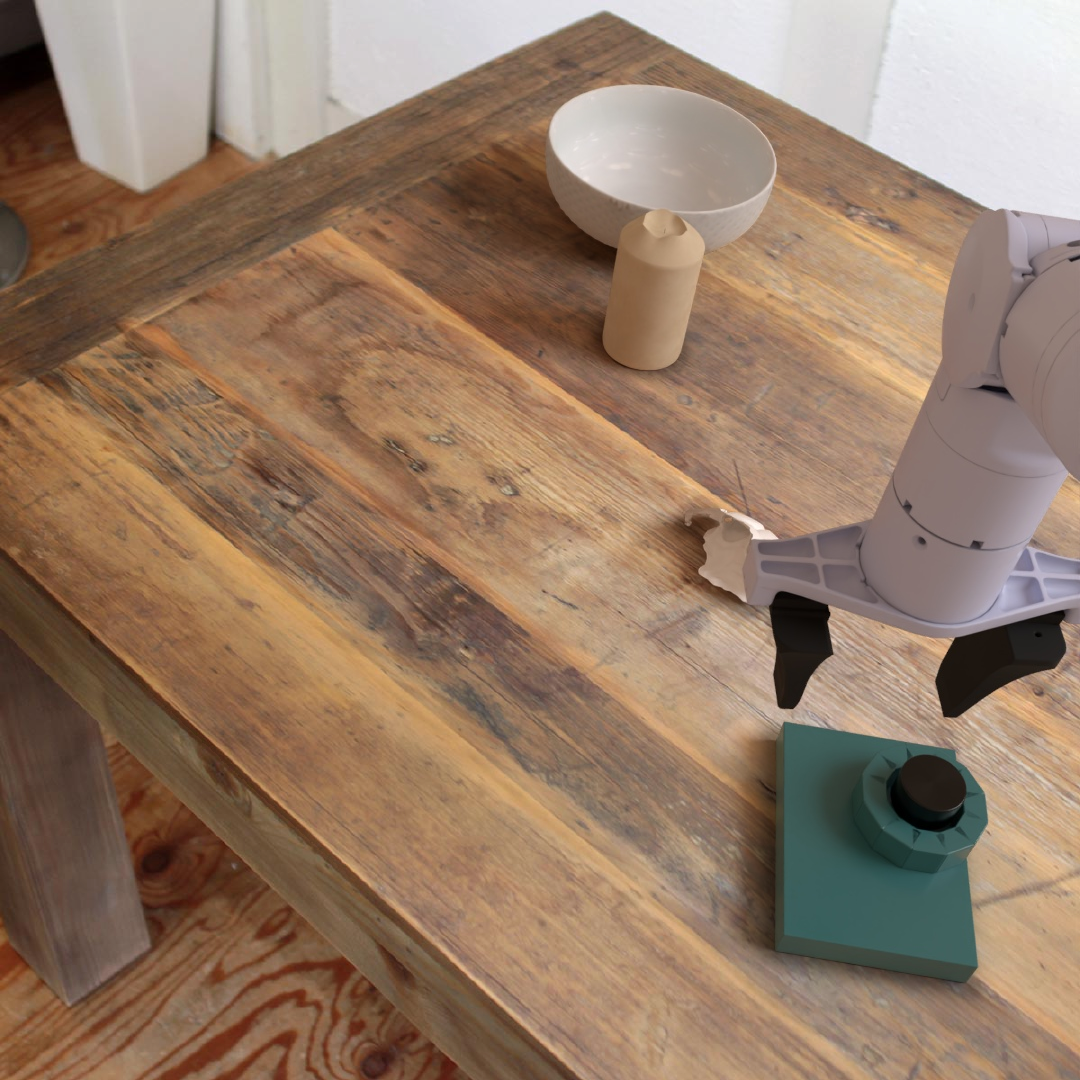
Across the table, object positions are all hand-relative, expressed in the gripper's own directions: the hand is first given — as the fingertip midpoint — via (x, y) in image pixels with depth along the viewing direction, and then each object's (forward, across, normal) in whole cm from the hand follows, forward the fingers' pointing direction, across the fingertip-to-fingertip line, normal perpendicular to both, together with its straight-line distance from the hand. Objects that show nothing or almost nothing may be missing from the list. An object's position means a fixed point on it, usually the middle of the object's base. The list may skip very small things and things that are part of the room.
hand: (864, 695), depth 61 cm
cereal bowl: (+11, +5, -50) cm, 51 cm away
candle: (+10, +7, -35) cm, 38 cm away
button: (+6, -4, +2) cm, 8 cm away
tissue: (+10, +2, -16) cm, 19 cm away
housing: (+9, -2, +3) cm, 10 cm away
